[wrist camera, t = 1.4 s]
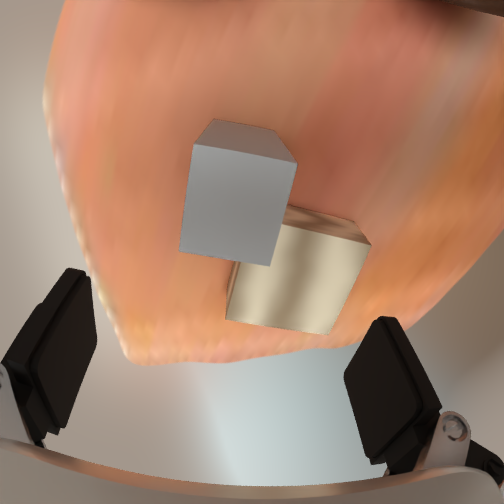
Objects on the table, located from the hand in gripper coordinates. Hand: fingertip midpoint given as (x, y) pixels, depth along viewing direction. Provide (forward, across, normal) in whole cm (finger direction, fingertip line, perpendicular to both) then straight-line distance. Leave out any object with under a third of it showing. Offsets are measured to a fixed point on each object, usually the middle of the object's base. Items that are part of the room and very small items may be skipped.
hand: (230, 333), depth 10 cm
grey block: (+25, 0, 0) cm, 25 cm away
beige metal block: (+25, -8, +10) cm, 28 cm away
